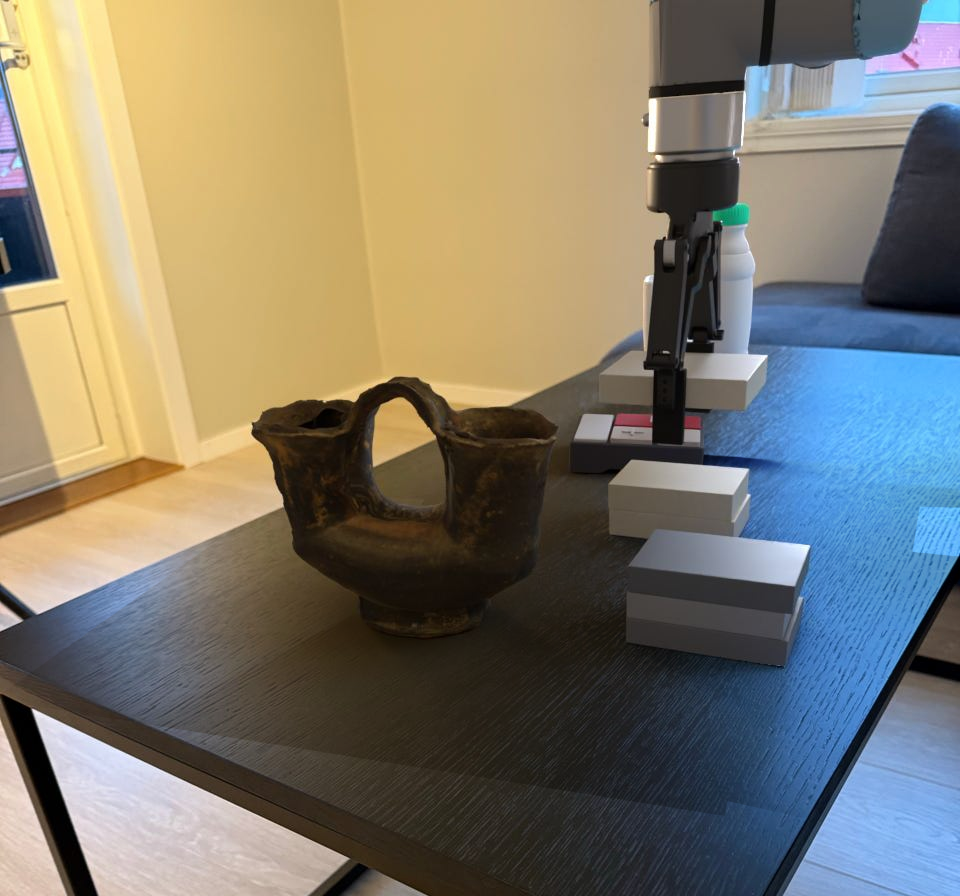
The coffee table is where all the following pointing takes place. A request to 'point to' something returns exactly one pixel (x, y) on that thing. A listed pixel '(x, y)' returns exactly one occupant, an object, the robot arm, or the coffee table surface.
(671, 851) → the coffee table surface
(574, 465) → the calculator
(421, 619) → the pottery vessel
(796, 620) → the grey books
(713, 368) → the flat white block
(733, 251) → the water bottle
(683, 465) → the white books
